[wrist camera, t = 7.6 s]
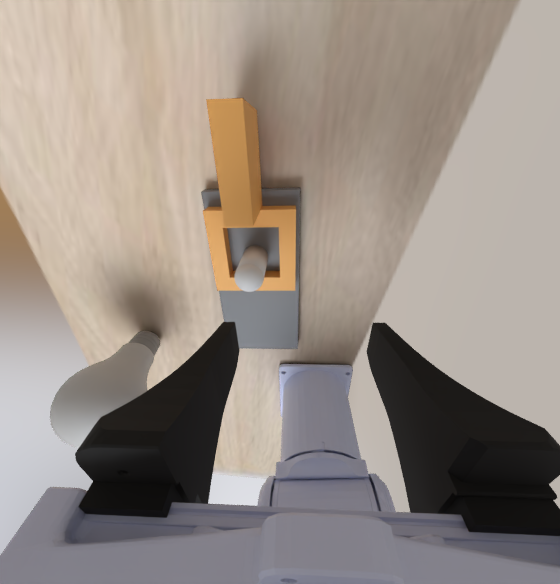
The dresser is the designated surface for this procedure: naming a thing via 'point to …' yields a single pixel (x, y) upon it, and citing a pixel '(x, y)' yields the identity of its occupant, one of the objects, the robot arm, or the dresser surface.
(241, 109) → the orange loop handle block
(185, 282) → the dresser surface
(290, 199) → the keeper board
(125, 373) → the lightbulb
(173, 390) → the robot arm
